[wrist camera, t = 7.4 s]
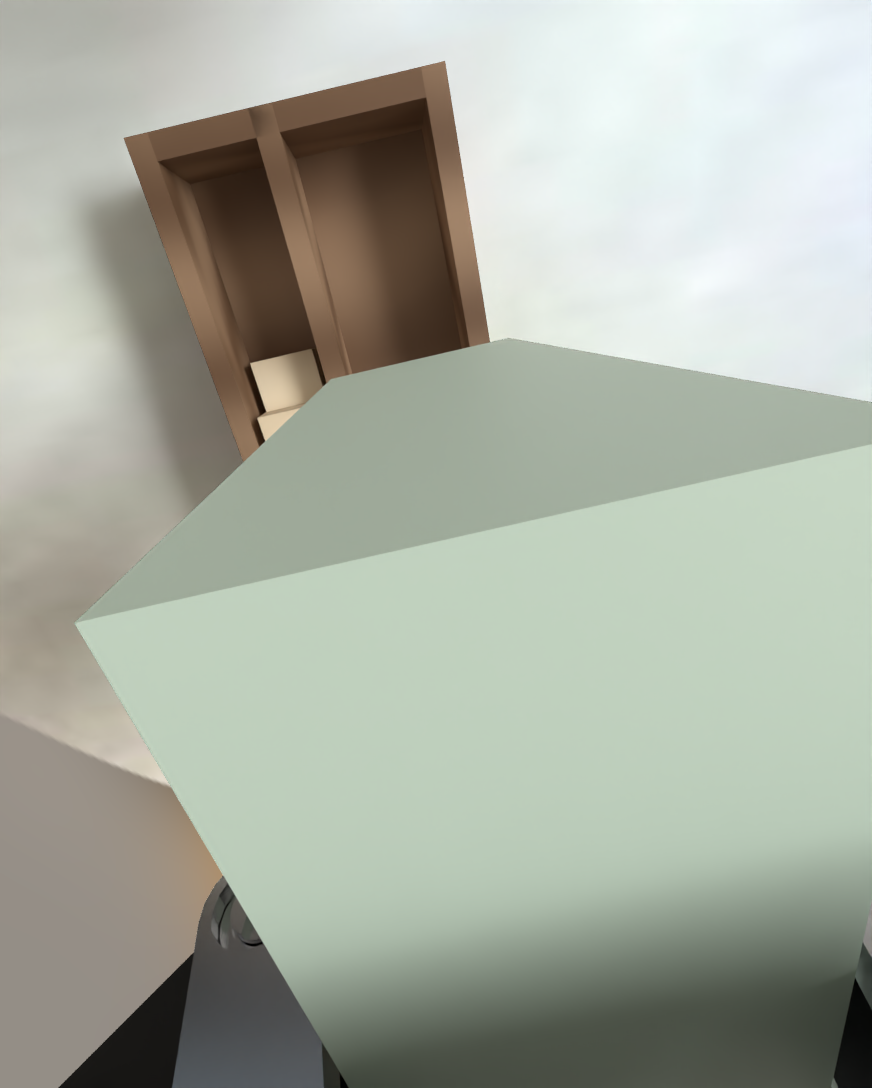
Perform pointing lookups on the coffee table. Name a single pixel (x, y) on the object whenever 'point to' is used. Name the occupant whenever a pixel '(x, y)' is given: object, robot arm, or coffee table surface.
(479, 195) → the coffee table surface
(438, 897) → the pale green block
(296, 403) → the offcut lower
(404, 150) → the tray
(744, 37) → the coffee table surface
